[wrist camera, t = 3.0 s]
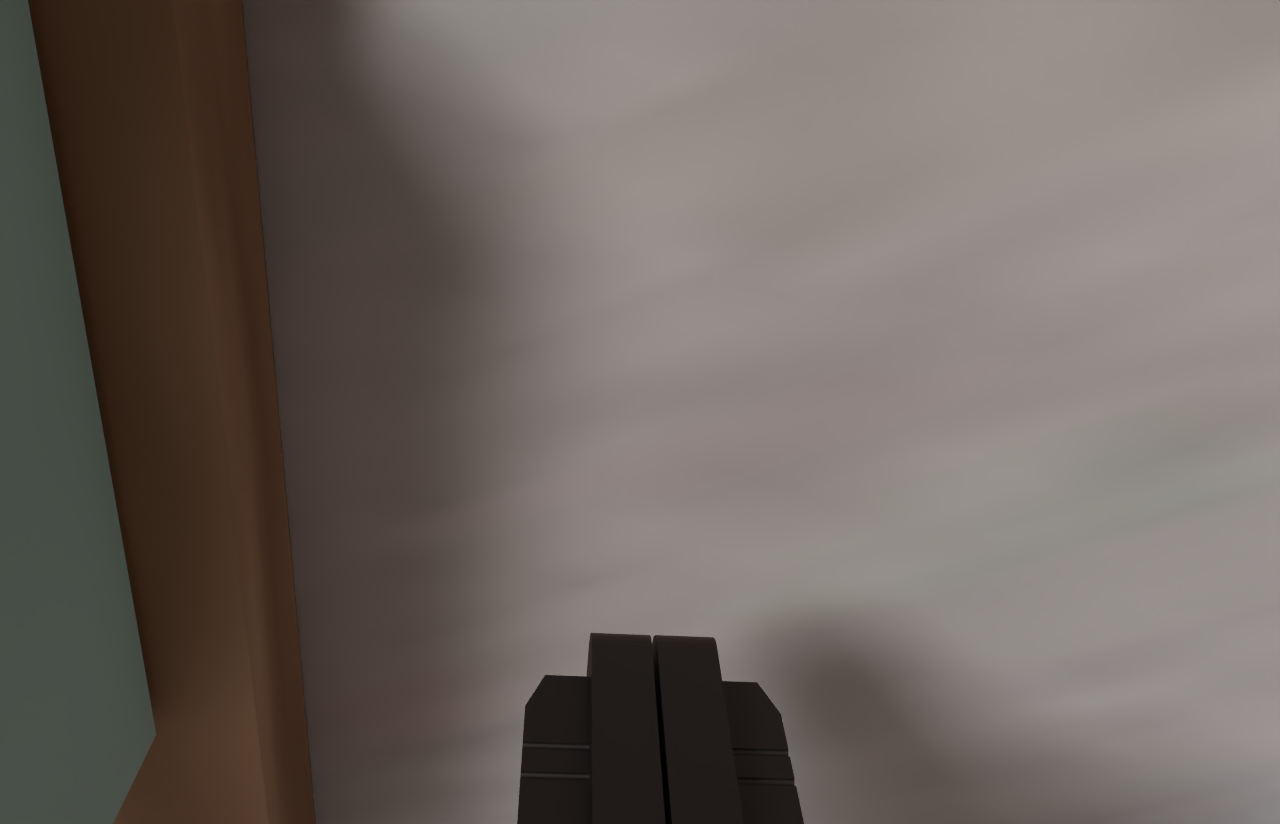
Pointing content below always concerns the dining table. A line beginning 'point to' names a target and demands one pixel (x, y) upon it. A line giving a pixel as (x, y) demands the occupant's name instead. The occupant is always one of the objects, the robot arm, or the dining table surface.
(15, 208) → the hinged leg
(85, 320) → the board
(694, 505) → the dining table surface
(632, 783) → the robot arm
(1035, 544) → the dining table surface
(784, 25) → the dining table surface
